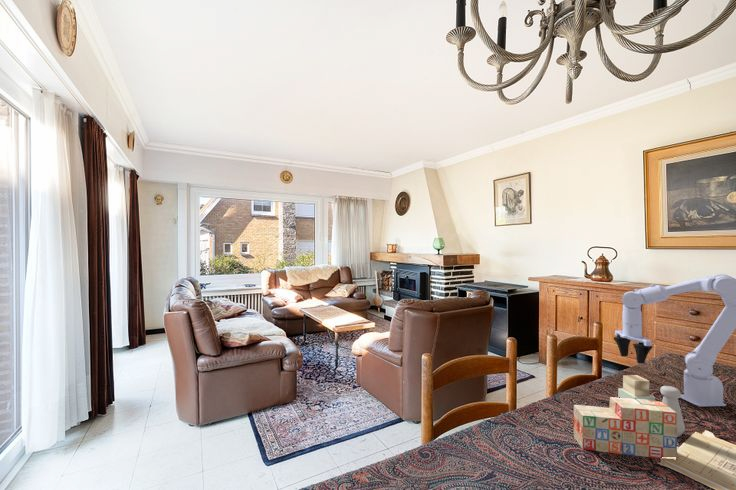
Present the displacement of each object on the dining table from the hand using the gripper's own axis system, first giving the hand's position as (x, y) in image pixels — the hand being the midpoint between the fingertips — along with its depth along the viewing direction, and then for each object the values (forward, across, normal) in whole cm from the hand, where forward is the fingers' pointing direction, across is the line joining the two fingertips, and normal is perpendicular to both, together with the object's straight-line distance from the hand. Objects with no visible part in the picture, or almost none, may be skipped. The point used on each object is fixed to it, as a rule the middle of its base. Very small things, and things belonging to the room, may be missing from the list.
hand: (632, 359), depth 126 cm
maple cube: (+7, +11, -8) cm, 15 cm away
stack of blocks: (+11, +36, -33) cm, 50 cm away
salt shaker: (+11, +30, -14) cm, 35 cm away
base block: (+10, +11, -8) cm, 17 cm away
